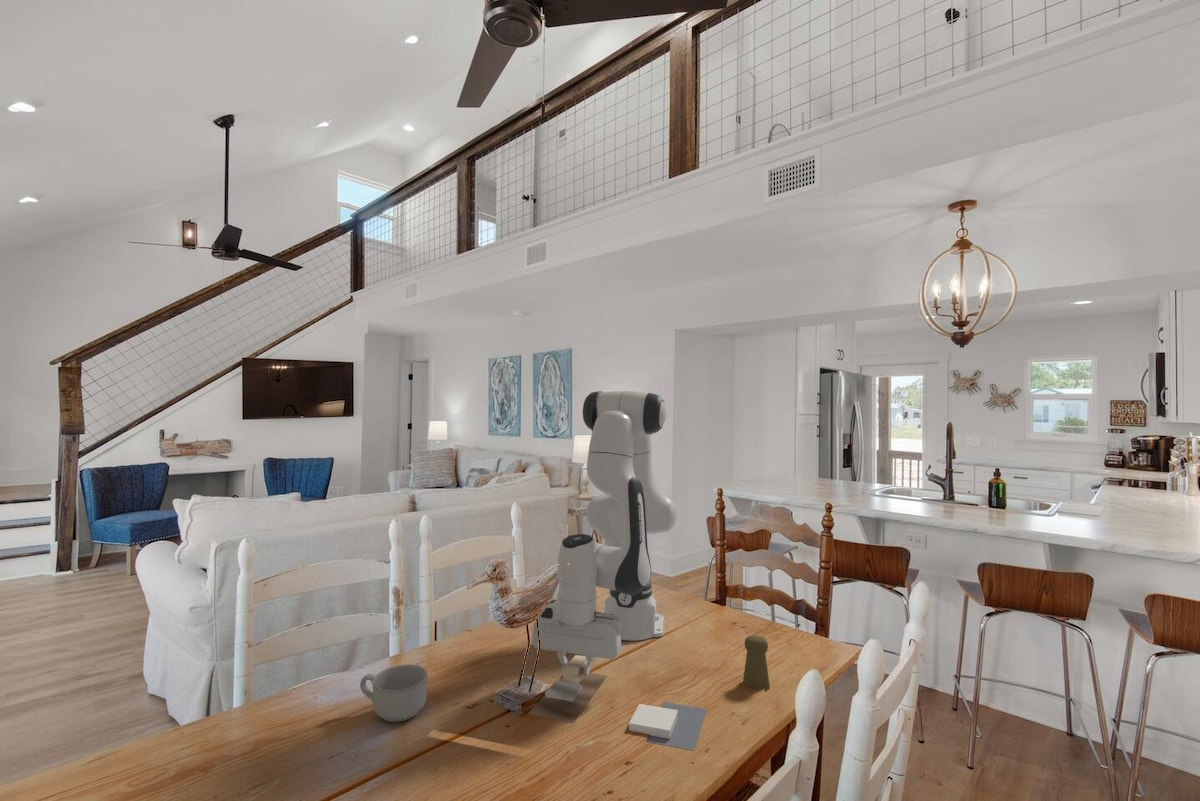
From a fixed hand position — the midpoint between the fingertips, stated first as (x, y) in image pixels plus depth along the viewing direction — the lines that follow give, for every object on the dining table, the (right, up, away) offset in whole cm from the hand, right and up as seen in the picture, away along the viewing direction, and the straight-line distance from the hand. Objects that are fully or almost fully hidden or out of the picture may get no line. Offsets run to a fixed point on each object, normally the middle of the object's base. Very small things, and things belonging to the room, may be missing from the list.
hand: (575, 672), depth 130 cm
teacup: (-37, -4, -10) cm, 39 cm away
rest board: (-1, -4, -3) cm, 5 cm away
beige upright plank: (-1, -1, -3) cm, 3 cm away
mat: (+17, -4, -13) cm, 21 cm away
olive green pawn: (+41, -5, +4) cm, 42 cm away
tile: (+17, -3, -11) cm, 20 cm away
